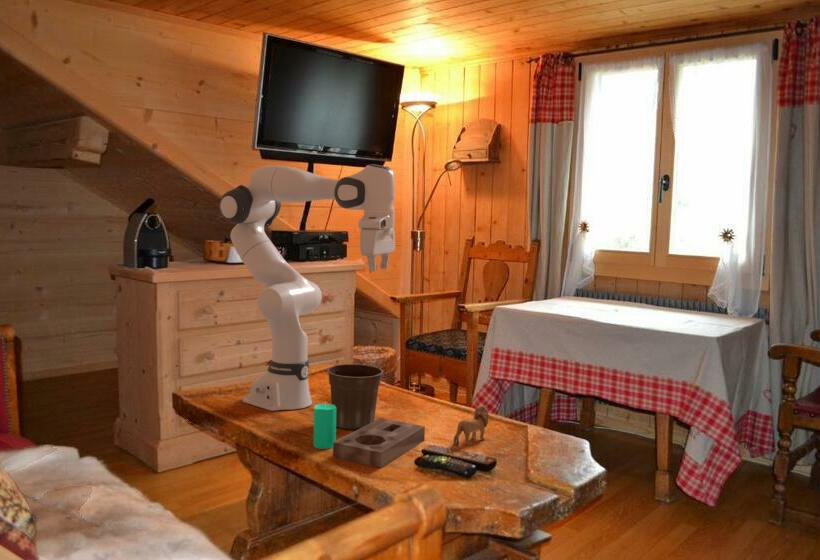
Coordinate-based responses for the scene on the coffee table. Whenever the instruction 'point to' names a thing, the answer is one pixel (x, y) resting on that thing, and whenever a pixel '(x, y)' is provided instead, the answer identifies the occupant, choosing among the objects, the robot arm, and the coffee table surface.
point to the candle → (324, 426)
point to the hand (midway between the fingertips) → (378, 270)
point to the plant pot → (354, 394)
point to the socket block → (378, 442)
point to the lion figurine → (473, 425)
